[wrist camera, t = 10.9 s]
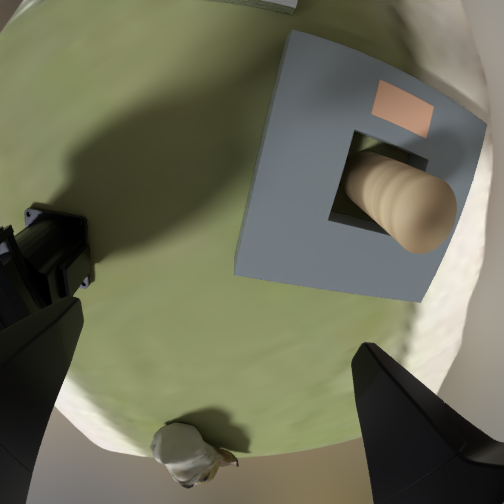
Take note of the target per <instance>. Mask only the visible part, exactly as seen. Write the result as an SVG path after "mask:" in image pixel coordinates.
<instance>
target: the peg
mask: <svg viewBox="0 0 504 504" xmlns="http://www.w3.org/2000/svg"><path fill="white" fill-rule="evenodd" d="M341 183H342V188H343V190H344V192H345V194H346V195H347V197H348V198H349V199H350V200H352V201H353V202H354V203H355V204H356V205H357V206H359V207H360V208H361V209H362V210H363V211H364V212H366V213H367V214H368V215H369V216H370V217H371V218H372V219H373V220H375V221H376V222H377V223H378V224H379V225H380V226H381V227H382V228H383V229H384V230H386V231H387V232H388V233H389V234H390V235H391V236H392V237H393V238H394V239H395V240H396V241H397V242H398V243H399V244H400V245H401V246H403V247H404V248H405V249H406V250H407V251H409V252H412V253H416V254H423V253H427V252H430V251H432V250H434V249H436V248H437V247H439V246H440V245H441V244H442V243H443V242H444V241H445V240H446V239H447V237H448V236H449V234H450V232H451V231H452V228H453V226H454V223H455V220H456V214H457V202H456V197H455V194H454V192H453V190H452V188H451V187H450V186H449V184H448V183H446V182H445V181H444V180H442V179H440V178H438V177H435V176H433V175H431V174H429V173H426V172H424V171H422V170H419V169H417V168H414V167H412V166H409V165H407V164H404V163H402V162H399V161H397V160H394V159H391V158H389V157H386V156H383V155H380V154H378V153H375V152H371V151H362V152H359V153H357V154H355V155H353V156H352V157H351V158H350V159H349V160H348V161H347V162H346V164H345V166H344V169H343V172H342V175H341Z"/></svg>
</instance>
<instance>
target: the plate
mask: <svg viewBox="0 0 504 504" xmlns="http://www.w3.org/2000/svg"><path fill="white" fill-rule="evenodd" d="M209 1H219V2H227V3H234V4H240V5H246V6H252V7H257V8H263V9H267V10H272V11H276V12H281V13H285V14H289V15H292V14H293V12H294V10H295V9H296V6H297V2H298V0H209Z"/></svg>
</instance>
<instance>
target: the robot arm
mask: <svg viewBox="0 0 504 504" xmlns="http://www.w3.org/2000/svg"><path fill="white" fill-rule="evenodd" d="M29 212H30V214H29ZM79 221H81V222H82V225H81V224H80V223H79ZM25 225H26V228H25V229H23V230H22V231H20V232H19V233H18V234H16V235H15V236H14V234H13V232H14V231H13V228H12V225H9V226H6V227H4V228H3V226H2V227H0V504H26V500H27V495H28V491H29V486H30V482H31V478H32V473H33V470H34V466H35V462H36V459H37V455H38V452H39V448H40V445H41V442H42V439H43V436H44V433H45V430H46V427H47V424H48V421H49V418H50V415H51V412H52V410H53V407H54V404H55V402H56V399H57V396H58V394H59V391H60V389H61V386H62V384H63V381H64V379H65V377H66V374H67V372H68V369H69V367H70V364H71V361H72V358H73V355H74V351H75V348H76V345H77V342H78V339H79V336H80V333H81V330H82V327H83V323H84V318H83V312H82V305H81V301H80V299H79V298H76V297H73V295H74V293H75V292H76V291H77V289H78V288H83V289H86V288H88V286H89V285H90V276H89V273H90V272H91V268H90V251H89V245H88V243H87V220H86V219H85V218H84V217H83V216H79V215H73V214H67V213H61V212H56V211H50V210H44V209H38V208H32V207H29V208H27V209H26V210H25ZM84 282H85V283H86V284H85V283H84ZM351 368H352V376H353V384H354V393H355V401H356V407H357V412H358V417H359V422H360V427H361V432H362V437H363V442H364V447H365V453H366V458H367V464H368V470H369V476H370V482H371V489H372V495H373V502H374V504H504V443H503V442H499V441H496V440H494V439H493V438H491V437H490V436H488V435H487V434H485V433H484V432H483V431H481V430H480V429H478V428H477V427H476V426H474V425H473V424H471V423H470V422H469V421H467V420H466V419H465V418H463V417H462V416H461V415H460V414H458V413H457V412H456V411H455V410H453V409H452V408H451V407H450V406H449V405H448V404H446V403H444V401H443V400H442V399H440V398H439V397H438V396H437V395H436V394H435V393H433V392H432V391H431V390H430V389H429V388H427V387H426V386H425V385H424V384H423V383H421V382H420V381H419V380H418V379H417V378H416V377H414V376H413V375H412V374H411V373H410V372H408V371H407V370H406V369H405V368H404V367H402V366H401V365H400V364H399V363H398V362H396V361H395V360H394V359H393V358H392V357H391V356H389V355H388V354H387V353H386V352H385V351H383V350H382V349H381V348H380V347H379V346H377V345H376V344H375V343H369V342H364V343H362V344H361V346H360V347H359V349H358V351H357V352H356V354H355V356H354V357H353V359H352V363H351Z"/></svg>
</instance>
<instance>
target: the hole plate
mask: <svg viewBox="0 0 504 504" xmlns="http://www.w3.org/2000/svg"><path fill="white" fill-rule="evenodd" d="M486 127H487V124H486V123H485V122H483V121H482V120H481V119H479V118H478V117H477V116H475V115H474V114H472V113H471V112H470V111H468V110H467V109H465V108H464V107H462V106H461V105H459V104H458V103H456V102H455V101H453V100H452V99H450V98H449V97H447V96H446V95H444V94H442V93H441V92H439V91H437V90H436V89H434V88H432V87H431V86H429V85H427V84H425V83H424V82H422V81H420V80H418V79H416V78H415V77H413V76H411V75H409V74H407V73H405V72H403V71H401V70H399V69H397V68H395V67H393V66H391V65H389V64H387V63H385V62H382V61H380V60H378V59H376V58H374V57H371V56H369V55H367V54H364V53H362V52H359V51H357V50H354V49H352V48H349V47H346V46H344V45H341V44H338V43H335V42H333V41H330V40H327V39H324V38H321V37H318V36H314V35H311V34H308V33H304V32H301V31H297V30H294V29H292V30H291V32H290V33H289V35H288V36H287V38H286V39H285V43H284V47H283V51H282V55H281V59H280V63H279V67H278V71H277V75H276V79H275V83H274V88H273V92H272V96H271V100H270V104H269V108H268V112H267V116H266V121H265V125H264V129H263V133H262V137H261V142H260V146H259V150H258V154H257V159H256V163H255V167H254V172H253V176H252V180H251V185H250V189H249V194H248V198H247V202H246V207H245V211H244V216H243V220H242V225H241V229H240V234H239V238H238V243H237V247H236V252H235V257H234V275H237V276H243V277H249V278H255V279H261V280H267V281H273V282H279V283H286V284H292V285H298V286H305V287H311V288H318V289H325V290H332V291H338V292H345V293H352V294H359V295H366V296H374V297H381V298H389V299H396V300H404V301H412V302H420V303H421V301H422V299H423V297H424V296H425V294H426V292H427V290H428V288H429V286H430V284H431V282H432V280H433V278H434V276H435V274H436V272H437V270H438V268H439V266H440V263H441V261H442V259H443V257H444V255H445V253H446V250H447V248H448V246H449V243H450V241H451V239H452V236H453V234H454V231H455V229H456V226H457V224H458V221H459V219H460V216H461V213H462V211H463V208H464V205H465V202H466V199H467V196H468V193H469V190H470V187H471V184H472V181H473V178H474V174H475V171H476V167H477V164H478V160H479V156H480V153H481V149H482V145H483V140H484V136H485V131H486ZM354 132H357V133H360V134H362V135H365V136H368V137H371V138H373V139H376V140H378V141H381V142H384V143H386V144H389V145H391V146H394V147H396V148H398V149H401V150H403V151H405V152H408V153H410V157H409V161H408V164H407V165H409V166H412V167H414V168H417V169H419V170H422V171H424V172H426V173H429V174H431V175H433V176H435V177H438V178H440V179H442V180H444V181H445V182H446V183H448V184H449V186H450V187H451V188H452V190H453V192H454V194H455V197H456V202H457V214H456V220H455V223H454V226H453V228H452V231H451V232H450V234H449V236H448V237H447V239H446V240H445V241H444V242H443V243H442V244H441V245H440V246H439V247H437V248H436V249H434V250H432V251H430V252H427V253H423V254H416V253H412V252H409V251H407V250H406V249H405V248H404V247H403V246H401V245H400V244H399V243H398V242H397V241H396V240H395V239H394V238H393V237H392V236H391V235H390V234H389V233H388V232H387V231H386V230H384V229H383V228H382V227H381V226H380V225H379V224H378V223H375V222H371V221H368V220H364V219H360V218H356V217H352V216H348V215H344V214H340V213H336V212H332V211H331V208H332V205H333V202H334V199H335V195H336V192H337V189H338V185H339V182H340V179H341V175H342V172H343V169H344V165H345V162H346V158H347V155H348V151H349V148H350V144H351V140H352V137H353V133H354Z"/></svg>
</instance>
